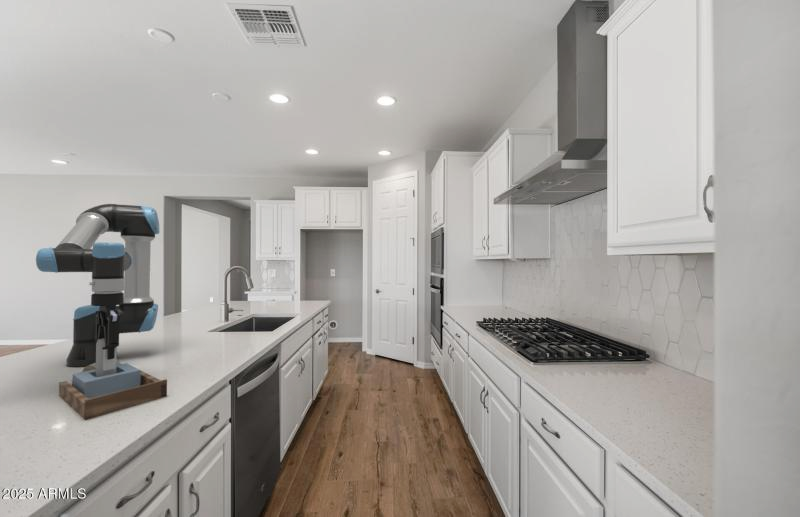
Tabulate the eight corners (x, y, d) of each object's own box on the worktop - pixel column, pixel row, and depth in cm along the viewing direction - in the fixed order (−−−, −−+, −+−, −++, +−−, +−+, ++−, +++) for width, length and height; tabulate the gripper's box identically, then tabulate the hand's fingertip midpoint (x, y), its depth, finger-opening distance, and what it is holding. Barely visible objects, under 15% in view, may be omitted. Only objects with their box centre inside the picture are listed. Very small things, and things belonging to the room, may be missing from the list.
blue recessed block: (72, 393, 99) (72, 373, 99) (126, 381, 110) (126, 363, 110) (83, 403, 92) (84, 382, 92) (140, 389, 103) (140, 370, 103)
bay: (58, 399, 97) (59, 379, 98) (133, 381, 112) (133, 364, 112) (85, 424, 83) (85, 400, 83) (166, 400, 98) (167, 380, 98)
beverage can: (92, 381, 98) (93, 341, 98) (98, 376, 102) (99, 338, 103) (113, 379, 100) (114, 340, 101) (118, 374, 105) (119, 336, 105)
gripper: (82, 291, 103) (81, 365, 103) (101, 295, 94) (99, 377, 93) (113, 289, 110) (111, 359, 110) (133, 293, 100) (132, 370, 100)
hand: (106, 367), depth 101 cm, fingers closed on beverage can, 5 cm apart
